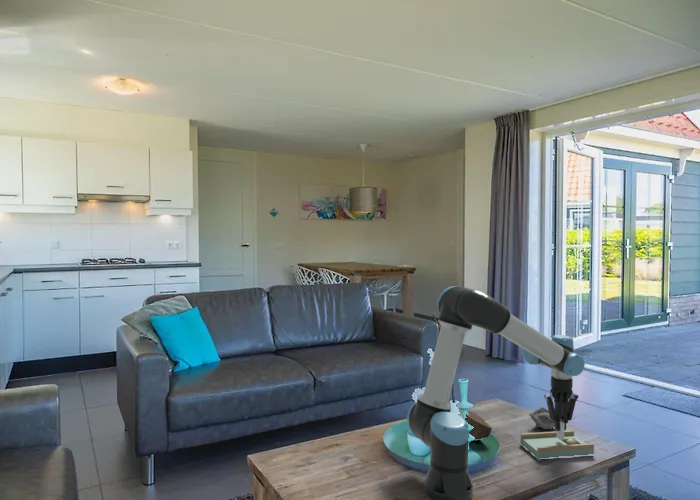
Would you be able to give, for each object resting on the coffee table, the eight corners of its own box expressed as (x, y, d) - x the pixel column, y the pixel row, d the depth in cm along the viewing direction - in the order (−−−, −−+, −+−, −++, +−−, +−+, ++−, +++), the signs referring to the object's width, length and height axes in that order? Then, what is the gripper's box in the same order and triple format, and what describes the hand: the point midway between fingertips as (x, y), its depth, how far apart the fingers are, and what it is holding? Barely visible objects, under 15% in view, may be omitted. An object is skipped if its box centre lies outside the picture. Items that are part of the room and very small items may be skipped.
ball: (568, 448, 186) (573, 439, 186) (562, 444, 190) (567, 435, 190) (576, 453, 186) (581, 444, 187) (570, 448, 190) (575, 439, 191)
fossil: (537, 433, 203) (537, 414, 203) (524, 424, 212) (525, 406, 212) (561, 431, 206) (561, 412, 205) (548, 422, 214) (548, 404, 214)
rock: (497, 431, 193) (484, 421, 188) (482, 452, 192) (468, 443, 187) (476, 413, 204) (463, 404, 198) (461, 433, 203) (448, 425, 198)
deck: (538, 460, 179) (538, 448, 179) (520, 445, 192) (520, 433, 191) (593, 456, 182) (594, 444, 182) (572, 441, 195) (572, 430, 195)
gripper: (551, 380, 181) (550, 443, 182) (583, 379, 184) (582, 441, 184) (540, 374, 189) (539, 435, 190) (571, 373, 191) (570, 433, 192)
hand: (560, 438), depth 187 cm, fingers closed
